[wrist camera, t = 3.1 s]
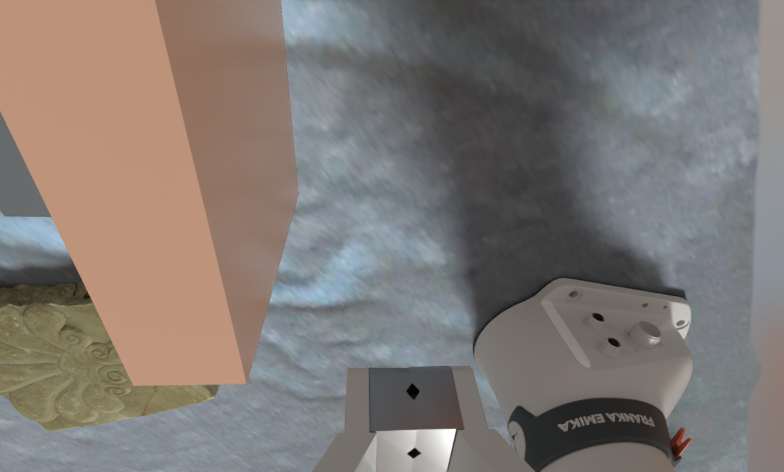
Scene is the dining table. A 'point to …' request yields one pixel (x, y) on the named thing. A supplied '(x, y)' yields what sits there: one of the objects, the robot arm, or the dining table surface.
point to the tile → (160, 167)
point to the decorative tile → (72, 362)
